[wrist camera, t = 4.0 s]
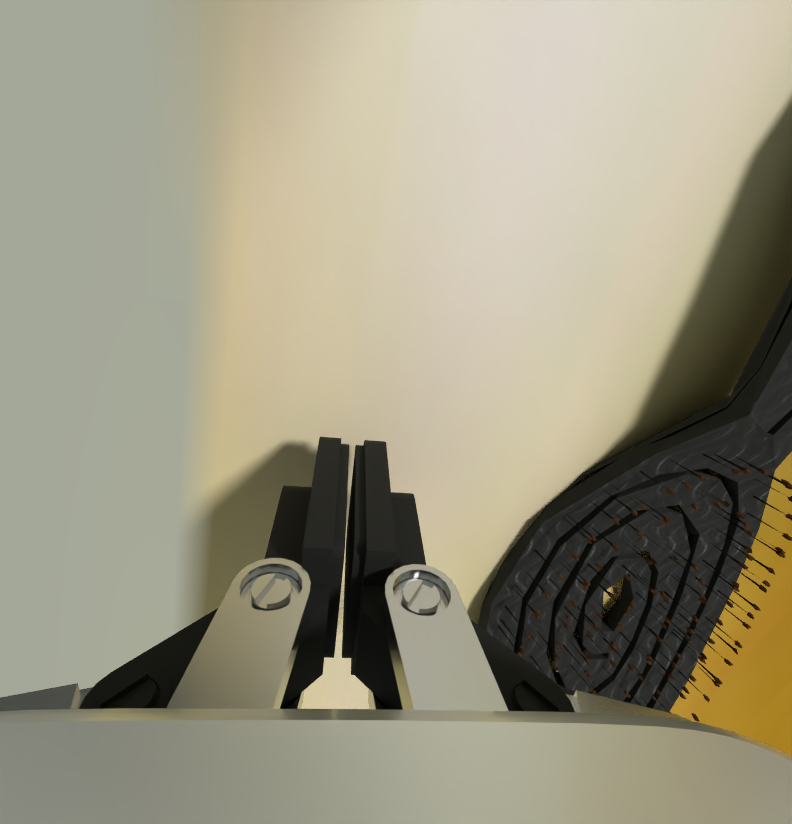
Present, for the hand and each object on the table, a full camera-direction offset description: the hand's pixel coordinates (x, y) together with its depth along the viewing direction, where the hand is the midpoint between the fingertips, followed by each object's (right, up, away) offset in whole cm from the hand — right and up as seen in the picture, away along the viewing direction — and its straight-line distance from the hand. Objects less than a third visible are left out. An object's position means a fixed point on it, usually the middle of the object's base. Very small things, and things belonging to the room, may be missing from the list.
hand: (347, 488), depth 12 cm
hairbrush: (+10, +1, +2) cm, 10 cm away
